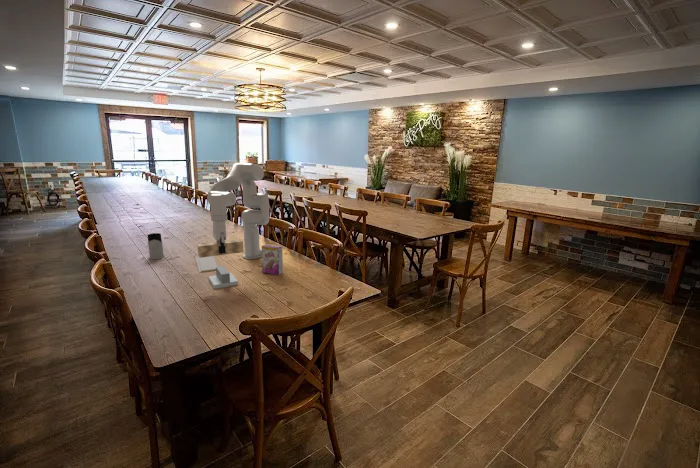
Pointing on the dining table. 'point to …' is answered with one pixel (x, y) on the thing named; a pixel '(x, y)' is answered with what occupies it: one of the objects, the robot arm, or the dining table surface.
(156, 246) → the glass holder
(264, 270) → the candy bar box
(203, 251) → the oak bar
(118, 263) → the dining table surface
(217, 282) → the plinth
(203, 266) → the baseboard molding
